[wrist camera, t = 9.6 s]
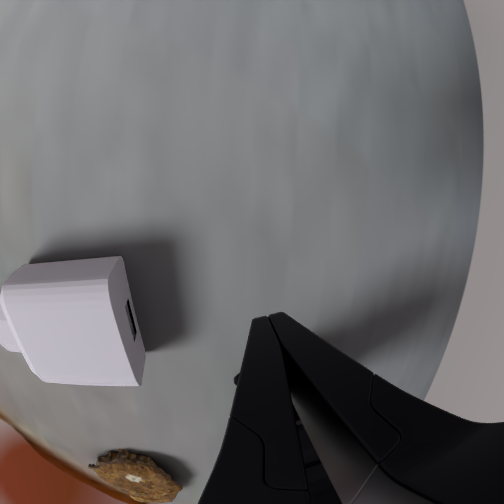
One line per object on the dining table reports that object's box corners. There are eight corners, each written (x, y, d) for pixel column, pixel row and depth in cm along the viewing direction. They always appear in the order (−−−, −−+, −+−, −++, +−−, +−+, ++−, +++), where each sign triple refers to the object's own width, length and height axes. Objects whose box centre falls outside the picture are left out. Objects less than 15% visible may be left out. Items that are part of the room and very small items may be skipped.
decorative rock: (198, 482, 35) (144, 437, 29) (202, 503, 31) (143, 463, 25) (139, 492, 34) (79, 449, 28) (140, 511, 30) (75, 472, 24)
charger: (-20, 265, 17) (123, 251, 20) (14, 349, 21) (147, 352, 23) (-48, 290, 13) (106, 281, 15) (-4, 380, 17) (141, 392, 19)
